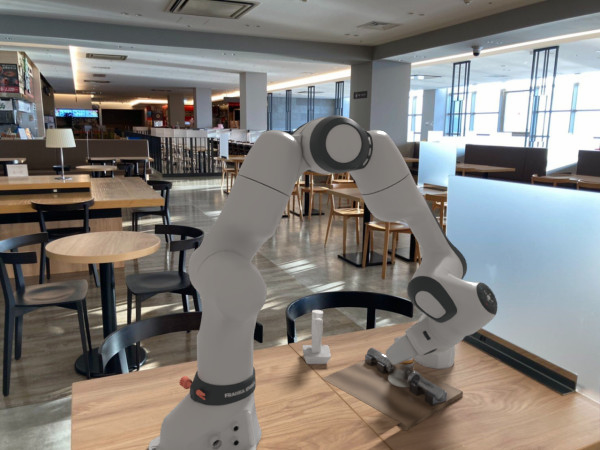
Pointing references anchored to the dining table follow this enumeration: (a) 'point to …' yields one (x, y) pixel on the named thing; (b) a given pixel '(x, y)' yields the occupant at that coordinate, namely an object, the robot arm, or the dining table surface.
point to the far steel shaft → (378, 361)
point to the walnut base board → (389, 393)
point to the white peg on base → (316, 342)
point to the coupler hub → (403, 367)
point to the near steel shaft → (426, 389)
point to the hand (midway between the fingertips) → (401, 356)
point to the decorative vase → (437, 357)
